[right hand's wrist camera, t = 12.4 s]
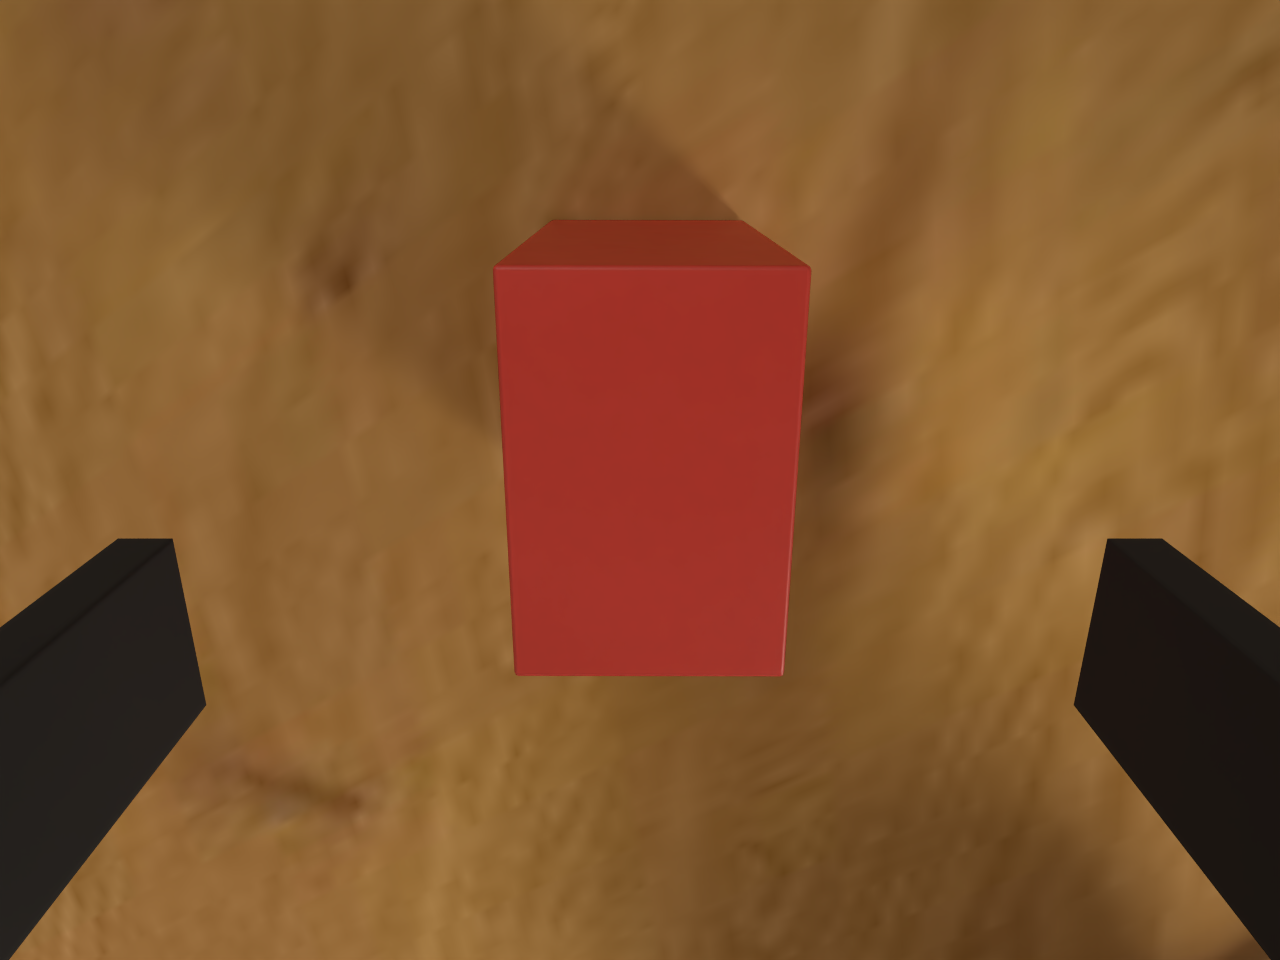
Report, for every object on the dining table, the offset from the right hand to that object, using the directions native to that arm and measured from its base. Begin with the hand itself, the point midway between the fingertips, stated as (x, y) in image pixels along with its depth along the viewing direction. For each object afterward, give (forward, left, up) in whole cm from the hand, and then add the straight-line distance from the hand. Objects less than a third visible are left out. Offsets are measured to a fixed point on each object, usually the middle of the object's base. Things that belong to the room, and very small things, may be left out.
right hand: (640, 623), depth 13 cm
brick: (0, 0, -16) cm, 16 cm away
